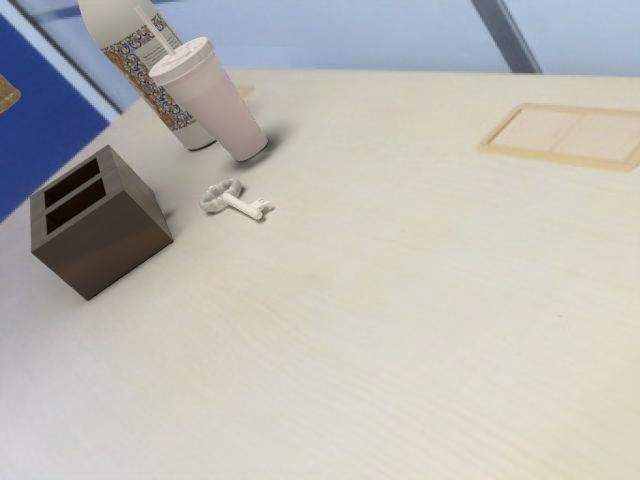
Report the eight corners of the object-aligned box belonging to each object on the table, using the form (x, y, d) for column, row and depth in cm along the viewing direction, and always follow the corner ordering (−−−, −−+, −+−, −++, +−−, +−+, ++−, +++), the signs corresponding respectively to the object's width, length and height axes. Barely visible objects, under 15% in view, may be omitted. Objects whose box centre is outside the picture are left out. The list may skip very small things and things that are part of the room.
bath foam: (186, 139, 85) (25, -49, 71) (237, 107, 85) (88, -87, 71) (188, 159, 80) (16, -38, 66) (242, 125, 80) (83, -79, 66)
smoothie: (255, 131, 78) (149, -8, 67) (290, 129, 74) (183, -19, 64) (213, 170, 75) (95, 31, 65) (247, 169, 71) (128, 23, 61)
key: (233, 181, 70) (197, 208, 69) (226, 172, 70) (190, 199, 69) (281, 204, 63) (242, 236, 62) (274, 195, 62) (234, 226, 61)
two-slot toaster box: (77, 240, 77) (29, 196, 73) (152, 190, 78) (108, 143, 74) (87, 301, 66) (30, 252, 62) (173, 240, 67) (123, 189, 63)
